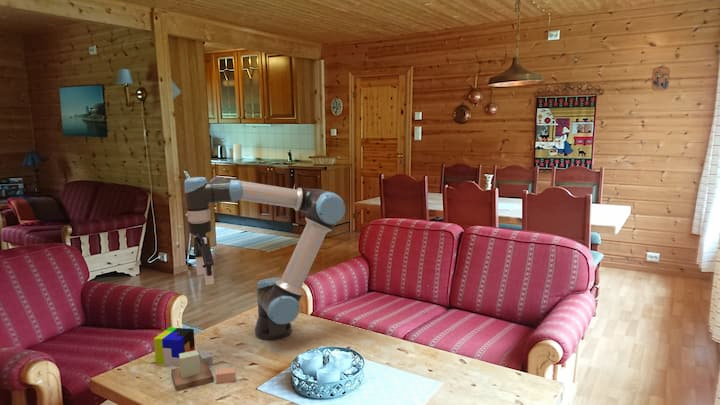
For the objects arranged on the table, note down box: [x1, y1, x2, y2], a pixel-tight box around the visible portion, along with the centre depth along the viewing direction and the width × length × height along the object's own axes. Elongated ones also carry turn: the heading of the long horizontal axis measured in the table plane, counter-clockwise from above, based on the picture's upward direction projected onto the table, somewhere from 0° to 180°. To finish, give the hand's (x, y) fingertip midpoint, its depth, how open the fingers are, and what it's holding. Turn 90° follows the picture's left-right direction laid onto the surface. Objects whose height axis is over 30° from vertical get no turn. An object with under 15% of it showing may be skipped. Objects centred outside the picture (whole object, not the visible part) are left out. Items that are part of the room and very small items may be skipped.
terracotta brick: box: [215, 367, 237, 385], centre depth 164 cm, size 6×4×4 cm, turn 102°
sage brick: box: [179, 349, 201, 378], centre depth 164 cm, size 6×4×7 cm, turn 118°
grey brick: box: [198, 349, 214, 367], centre depth 176 cm, size 6×4×4 cm, turn 32°
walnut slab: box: [170, 361, 214, 392], centre depth 165 cm, size 12×12×2 cm
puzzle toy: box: [153, 326, 196, 367], centre depth 179 cm, size 10×10×10 cm
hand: (205, 278), depth 173 cm, fingers open, 13 cm apart
